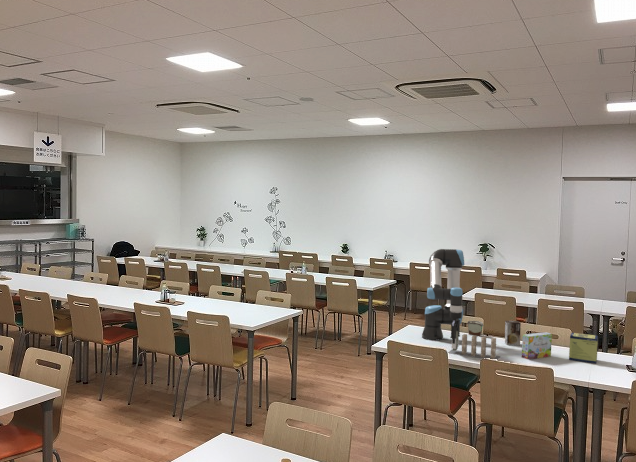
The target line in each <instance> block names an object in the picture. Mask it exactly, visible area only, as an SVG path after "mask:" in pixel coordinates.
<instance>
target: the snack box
mask: <svg viewBox="0 0 636 462" xmlns="http://www.w3.org/2000/svg"><path fill="white" fill-rule="evenodd" d="M552 340H553V334H552V333H550V332H546V331H545V332H544V331H543V332H537V333H536V332H535V333H527V334H522V343H521V358H522V359H525V360H534V359H542V358H549V357H550V358H551V357H552V342H553V341H552Z"/></svg>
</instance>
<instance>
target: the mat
mask: <svg viewBox="0 0 636 462" xmlns="http://www.w3.org/2000/svg"><path fill="white" fill-rule="evenodd" d="M448 353H449V354H451V355H456V356H457V355H458V356H463V357H468V358H477V359H482V358H490V359H491V354H486V356H485V357H481V353H478V352H476V355H475V356H471V351H467V353H466V354H465V355H464V354H462V350H458V349H457V350H456V351H453V350H452V349H450V350H449V351H448V352H447V354H448ZM500 358H501V356H499V355H496V357H495V358H494V359H497V361H499V360H500Z"/></svg>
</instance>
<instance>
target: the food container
mask: <svg viewBox="0 0 636 462" xmlns="http://www.w3.org/2000/svg"><path fill="white" fill-rule="evenodd" d="M466 324H467V329H468V330H467V332H468V335H469V336H473V335H475V336H477V337H478V336H479V337H480V338H482V331H483V327H484V322H482V321H479V320H468V321H467V322H466Z"/></svg>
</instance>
